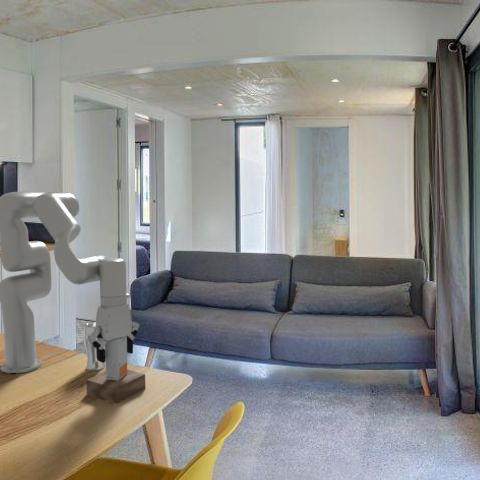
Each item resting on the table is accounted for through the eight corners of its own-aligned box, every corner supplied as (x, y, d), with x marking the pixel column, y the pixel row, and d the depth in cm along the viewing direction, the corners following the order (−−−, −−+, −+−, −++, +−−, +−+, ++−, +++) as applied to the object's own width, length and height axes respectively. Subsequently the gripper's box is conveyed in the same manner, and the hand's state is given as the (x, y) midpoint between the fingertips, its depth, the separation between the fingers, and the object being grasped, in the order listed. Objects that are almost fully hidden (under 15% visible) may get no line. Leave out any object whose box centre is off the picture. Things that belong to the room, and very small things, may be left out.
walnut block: (87, 396, 143) (86, 379, 142) (117, 382, 153) (116, 366, 152) (116, 405, 136) (115, 388, 136) (145, 390, 146) (145, 374, 146)
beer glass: (94, 372, 159) (93, 328, 158) (80, 368, 163) (78, 325, 161) (110, 366, 165) (109, 323, 164) (96, 362, 169) (95, 320, 167)
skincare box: (118, 381, 141) (117, 341, 139) (105, 380, 142) (104, 340, 140) (128, 373, 147) (127, 335, 145) (115, 372, 148) (114, 334, 146)
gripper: (130, 293, 151) (131, 346, 153) (80, 303, 138) (82, 362, 139) (145, 297, 146) (146, 352, 148) (95, 308, 133) (97, 368, 135)
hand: (115, 356), depth 144 cm, fingers open, 9 cm apart
